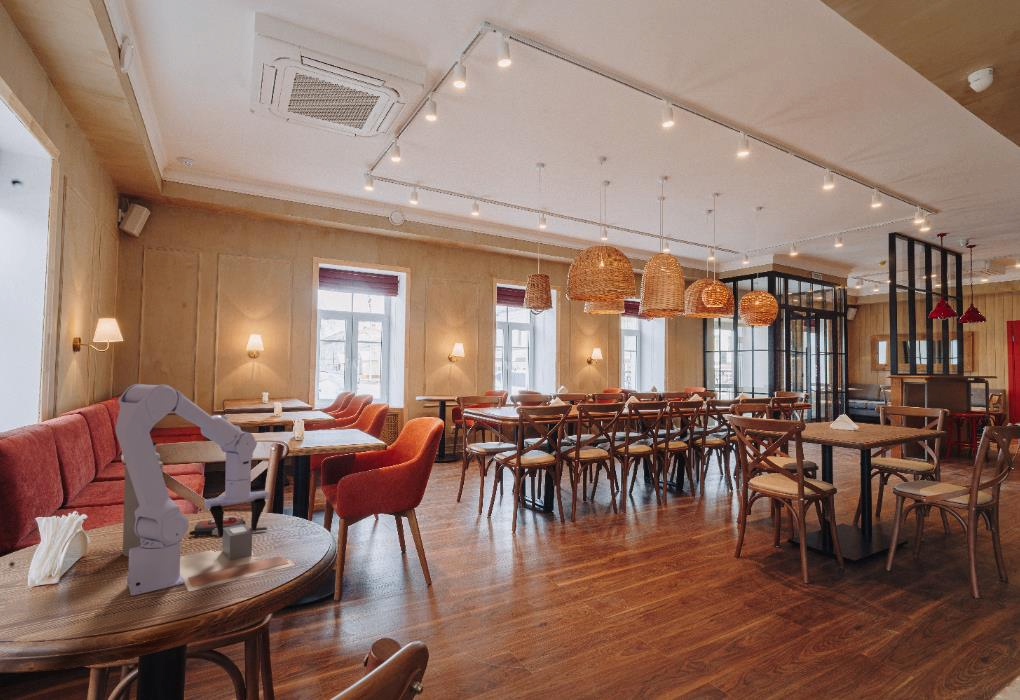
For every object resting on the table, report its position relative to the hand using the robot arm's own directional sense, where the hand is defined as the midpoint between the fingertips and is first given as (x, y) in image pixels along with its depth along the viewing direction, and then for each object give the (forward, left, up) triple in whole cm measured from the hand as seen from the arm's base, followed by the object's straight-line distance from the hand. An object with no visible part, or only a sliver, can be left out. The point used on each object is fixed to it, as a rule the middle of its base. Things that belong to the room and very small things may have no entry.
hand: (237, 532), depth 129 cm
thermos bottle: (-18, +18, -6) cm, 26 cm away
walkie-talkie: (+3, +20, -6) cm, 21 cm away
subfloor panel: (-2, -5, -6) cm, 8 cm away
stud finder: (0, 0, -5) cm, 5 cm away
